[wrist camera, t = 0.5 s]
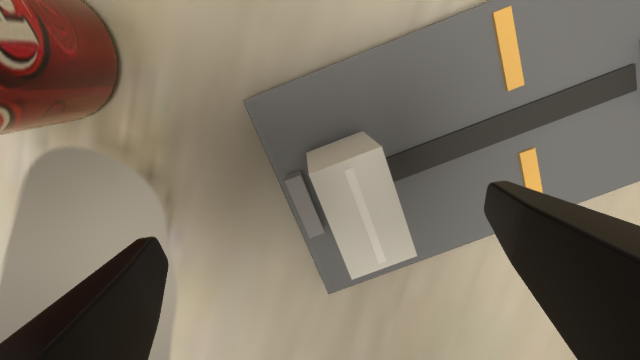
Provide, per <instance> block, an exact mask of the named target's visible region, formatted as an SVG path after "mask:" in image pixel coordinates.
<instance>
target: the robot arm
mask: <svg viewBox="0 0 640 360" xmlns="http://www.w3.org/2000/svg"><path fill="white" fill-rule="evenodd" d="M484 213H485V216H486V218H487V220H488V222H489V224H490V225H491V227H492V229H493V231H494V233H495V235H496V237H497V238H498V240H499V242H500V244H501V246H502V248H503V250H504V251H505V253H506V255H507V257H508V259H509V260H510V262H511V264H512V265H513V267H514V268H515V270H516V271H517V273H518V274H519V275H520V277H521V278H522V280H523V281H524V283H525V284H526V286H527V287H528V288H529V290H530V291H531V293H532V294H533V296H534V297H535V299H536V300H537V302H538V303H539V304H540V306H541V307H542V309H543V310H544V312H545V313H546V315H547V316H548V317H549V319H550V320H551V322H552V323H553V325H554V326H555V328H556V329H557V331H558V332H559V333H560V335H561V336H562V338H563V339H564V341H565V342H566V344H567V345H568V346H569V348H570V349H571V351H572V352H573V354H574V355H575V357H576V358H577V359H578V360H640V226H638V225H635V224H632V223H629V222H626V221H624V220H621V219H618V218H615V217H612V216H609V215H606V214H603V213H600V212H597V211H594V210H591V209H588V208H585V207H582V206H579V205H576V204H574V203H571V202H568V201H565V200H562V199H559V198H556V197H553V196H550V195H547V194H544V193H541V192H538V191H535V190H532V189H529V188H526V187H523V186H521V185H518V184H515V183H512V182H509V181H497V182H491V183H490V184H489V185H488V186H487V191H486V197H485V203H484ZM167 272H168V259H167V257H166V255H165V253H164V251H163V249H162V247H161V245H160V243H159V241H158V240H157V239H156V238H155V237H147V238H140V239H137V240H136V241H135V242H133V243H132V244H131V245H129V246H128V247H127V248H125V249H124V250H123V251H121V252H120V253H119V254H117V255H116V256H115V257H114V258H112V259H111V260H109V261H108V262H107V263H106V264H104V265H103V266H102V267H100V268H99V269H98V270H96V271H95V272H94V273H92V274H91V275H90V276H88V277H87V278H86V279H85V280H83V281H82V282H81V283H79V284H78V285H77V286H75V287H74V288H73V289H71V290H70V291H69V292H67V293H66V294H65V295H64V296H62V297H61V298H59V299H58V300H57V301H56V302H54V303H53V304H52V305H50V306H49V307H48V308H47V309H45V310H44V311H42V312H41V313H40V314H38V315H37V316H36V317H35V318H33V319H32V320H31V321H29V322H28V323H27V324H25V325H24V326H22V327H21V328H20V329H19V330H17V331H16V332H15V333H13V334H12V335H11V336H9V337H8V338H7V339H5V340H4V341H3V342H1V343H0V360H148V357H149V354H150V350H151V347H152V344H153V340H154V336H155V333H156V330H157V326H158V322H159V318H160V313H161V307H162V301H163V295H164V289H165V284H166V277H167Z"/></svg>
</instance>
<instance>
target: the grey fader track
mask: <svg viewBox="0 0 640 360" xmlns="http://www.w3.org/2000/svg"><path fill="white" fill-rule="evenodd" d="M243 102H244V105H245V107H246V109H247V111H248V114H249V116H250V118H251V120H252V123H253V125H254V127H255V129H256V132H257V134H258V136H259V138H260V141H261V143H262V145H263V147H264V150H265V152H266V154H267V156H268V159H269V161H270V163H271V165H272V168H273V170H274V172H275V174H276V177H277V179H278V181H279V183H280V186H281V188H282V190H283V192H284V195H285V197H286V199H287V201H288V204H289V206H290V208H291V210H292V213H293V215H294V217H295V219H296V222H297V224H298V226H299V228H300V231H301V233H302V235H303V237H304V240H305V242H306V244H307V246H308V249H309V251H310V253H311V255H312V258H313V260H314V262H315V264H316V267H317V269H318V271H319V273H320V276H321V278H322V280H323V282H324V285H325V287H326V289H327V291H328V294H331V293H334V292H336V291H339V290H342V289H345V288H347V287H350V286H353V285H355V284H358V283H361V282H364V281H366V280H369V279H372V278H375V277H377V276H380V275H383V274H386V273H388V272H391V271H394V270H397V269H399V268H402V267H405V266H408V265H410V264H413V263H416V262H419V261H421V260H424V259H427V258H430V257H432V256H435V255H438V254H441V253H443V252H446V251H449V250H452V249H454V248H457V247H460V246H462V245H465V244H468V243H471V242H473V241H476V240H479V239H482V238H484V237H487V236H490V235H493V234H495V233H494V231H493V229H492V227H491V225H490V224H489V222H488V220H487V218H486V216H485V213H484V203H485V197H486V191H487V186H488V185H489V184H490V183H491V182H497V181H509V182H512V183H515V184H518V185H521V186H523V187H526V188H529V189H532V190H535V191H538V192H541V193H544V194H547V195H550V196H553V197H556V198H559V199H562V200H565V201H568V202H571V203H574V204H578V203H580V202H583V201H586V200H589V199H591V198H594V197H597V196H600V195H602V194H605V193H608V192H611V191H613V190H616V189H619V188H622V187H624V186H627V185H630V184H633V183H635V182H638V181H640V0H492V1H490V2H487V3H485V4H482V5H480V6H477V7H475V8H472V9H470V10H467V11H465V12H462V13H460V14H457V15H455V16H452V17H450V18H447V19H445V20H442V21H440V22H438V23H435V24H433V25H430V26H428V27H425V28H423V29H420V30H418V31H415V32H413V33H410V34H408V35H405V36H403V37H400V38H398V39H395V40H393V41H390V42H388V43H385V44H383V45H380V46H378V47H375V48H373V49H370V50H368V51H365V52H363V53H360V54H358V55H355V56H353V57H350V58H348V59H345V60H343V61H340V62H338V63H335V64H333V65H330V66H328V67H325V68H323V69H320V70H318V71H315V72H313V73H310V74H308V75H305V76H303V77H300V78H298V79H295V80H293V81H290V82H288V83H285V84H283V85H280V86H278V87H275V88H273V89H270V90H268V91H265V92H263V93H260V94H258V95H255V96H253V97H250V98H248V99H245V100H243ZM361 131H363V132H365V133H366V134H367V135H368V136H370V137H371V138H372V139H373V140H375V141H376V142H377V143H378V144H379V145H381V146H382V149H383V152H384V155H385V158H386V161H387V164H388V167H389V170H390V173H391V176H392V180H393V183H394V186H395V189H396V192H397V195H398V198H399V201H400V204H401V207H402V210H403V213H404V217H405V220H406V223H407V226H408V229H409V232H410V235H411V238H412V241H413V244H414V247H415V250H416V253H417V256H416V257H413V258H411V259H408V260H405V261H402V262H400V263H397V264H394V265H391V266H389V267H386V268H383V269H380V270H378V271H375V272H372V273H370V274H367V275H364V276H361V277H359V278H356V279H353V280H352V279H351V277H350V274H349V272H348V269H347V267H346V264H345V262H344V259H343V257H342V255H341V252H340V250H339V247H338V245H337V242H336V240H335V238H334V235H333V233H332V230H331V228H330V225H329V223H328V220H327V218H326V216H325V213H324V211H323V208H322V206H321V203H320V201H319V199H318V196H317V194H316V191H315V189H314V186H313V184H312V181H311V179H310V177H309V173H308V164H307V156H306V153H307V152H309V151H312V150H314V149H317V148H320V147H322V146H325V145H327V144H330V143H332V142H335V141H338V140H340V139H343V138H345V137H348V136H350V135H353V134H356V133H358V132H361Z"/></svg>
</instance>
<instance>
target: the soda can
mask: <svg viewBox="0 0 640 360" xmlns="http://www.w3.org/2000/svg"><path fill="white" fill-rule="evenodd" d="M116 75H117V60H116V55H115V50H114V46H113V43H112V41H111V38H110V36H109V33H108V32H107V30H106V28H105V26H104V25H103V23H102V21H101V20H100V19H99V18H98V16H97V15H96V14H95V13H94V11H93V10H92V9H91V8H90V7H89V6H88V5H87V4H85V3H84V2H83V1H82V0H0V135H2V134H7V133H13V132H18V131H23V130H28V129H33V128H39V127H44V126H49V125H54V124H60V123H65V122H70V121H74V120H79V119H82V118H84V117H86V116H88V115H90V114H93V113H94V112H95V111H96V110H98V109H99V108H100V107H101V106H102V105H103V104H104V103H105V102H106V100H107V99H108V98H109V96H110V94H111V92H112V89H113V87H114V84H115V79H116Z"/></svg>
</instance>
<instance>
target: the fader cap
mask: <svg viewBox="0 0 640 360" xmlns="http://www.w3.org/2000/svg"><path fill="white" fill-rule="evenodd" d="M306 156H307V164H308V173H309V177H310V179H311V181H312V184H313V186H314V189H315V191H316V194H317V196H318V199H319V201H320V203H321V206H322V208H323V211H324V213H325V216H326V218H327V220H328V223H329V225H330V228H331V230H332V233H333V235H334V238H335V240H336V242H337V245H338V247H339V250H340V252H341V255H342V257H343V259H344V262H345V264H346V267H347V269H348V272H349V274H350V277H351V279H352V280H353V279H356V278H359V277H361V276H364V275H367V274H370V273H372V272H375V271H378V270H380V269H383V268H386V267H389V266H391V265H394V264H397V263H400V262H402V261H405V260H408V259H411V258H413V257H416V256H417V253H416V250H415V247H414V244H413V241H412V238H411V235H410V232H409V229H408V226H407V223H406V220H405V217H404V213H403V210H402V207H401V204H400V201H399V198H398V195H397V192H396V189H395V186H394V183H393V180H392V176H391V173H390V170H389V167H388V164H387V161H386V158H385V155H384V152H383V149H382V146H381V145H379V144H378V143H377V142H376V141H375V140H373V139H372V138H371V137H370V136H368V135H367V134H366V133H365V132H363V131H361V132H358V133H356V134H353V135H350V136H348V137H345V138H343V139H340V140H338V141H335V142H332V143H330V144H327V145H325V146H322V147H320V148H317V149H314V150H312V151H309V152H307V153H306Z"/></svg>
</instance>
